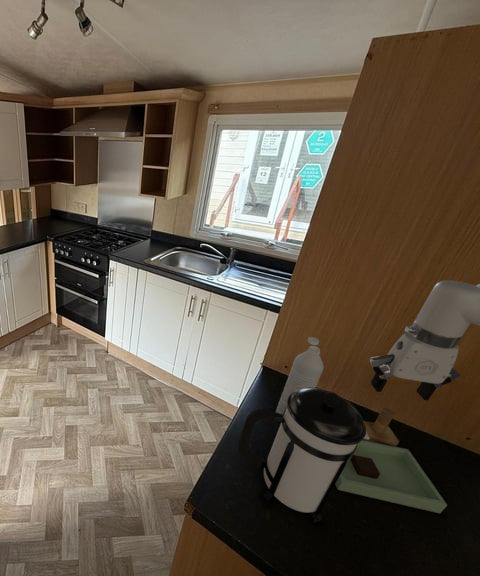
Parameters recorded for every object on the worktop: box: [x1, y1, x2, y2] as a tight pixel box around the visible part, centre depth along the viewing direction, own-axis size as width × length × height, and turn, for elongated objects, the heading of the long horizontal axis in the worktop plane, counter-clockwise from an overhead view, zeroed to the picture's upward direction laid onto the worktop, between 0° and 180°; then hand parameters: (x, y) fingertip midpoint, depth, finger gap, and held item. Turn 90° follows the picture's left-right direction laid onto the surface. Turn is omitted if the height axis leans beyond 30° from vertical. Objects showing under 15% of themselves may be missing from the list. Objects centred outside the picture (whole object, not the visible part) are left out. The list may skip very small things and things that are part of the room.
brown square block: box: [350, 455, 380, 479], centre depth 75 cm, size 4×4×2 cm
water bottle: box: [275, 336, 325, 417], centre depth 86 cm, size 9×6×25 cm
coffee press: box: [238, 387, 369, 525], centre depth 65 cm, size 17×16×30 cm
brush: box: [363, 407, 400, 447], centre depth 82 cm, size 7×5×10 cm
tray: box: [334, 440, 448, 514], centre depth 75 cm, size 20×14×3 cm
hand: (398, 392), depth 77 cm, fingers open, 9 cm apart
